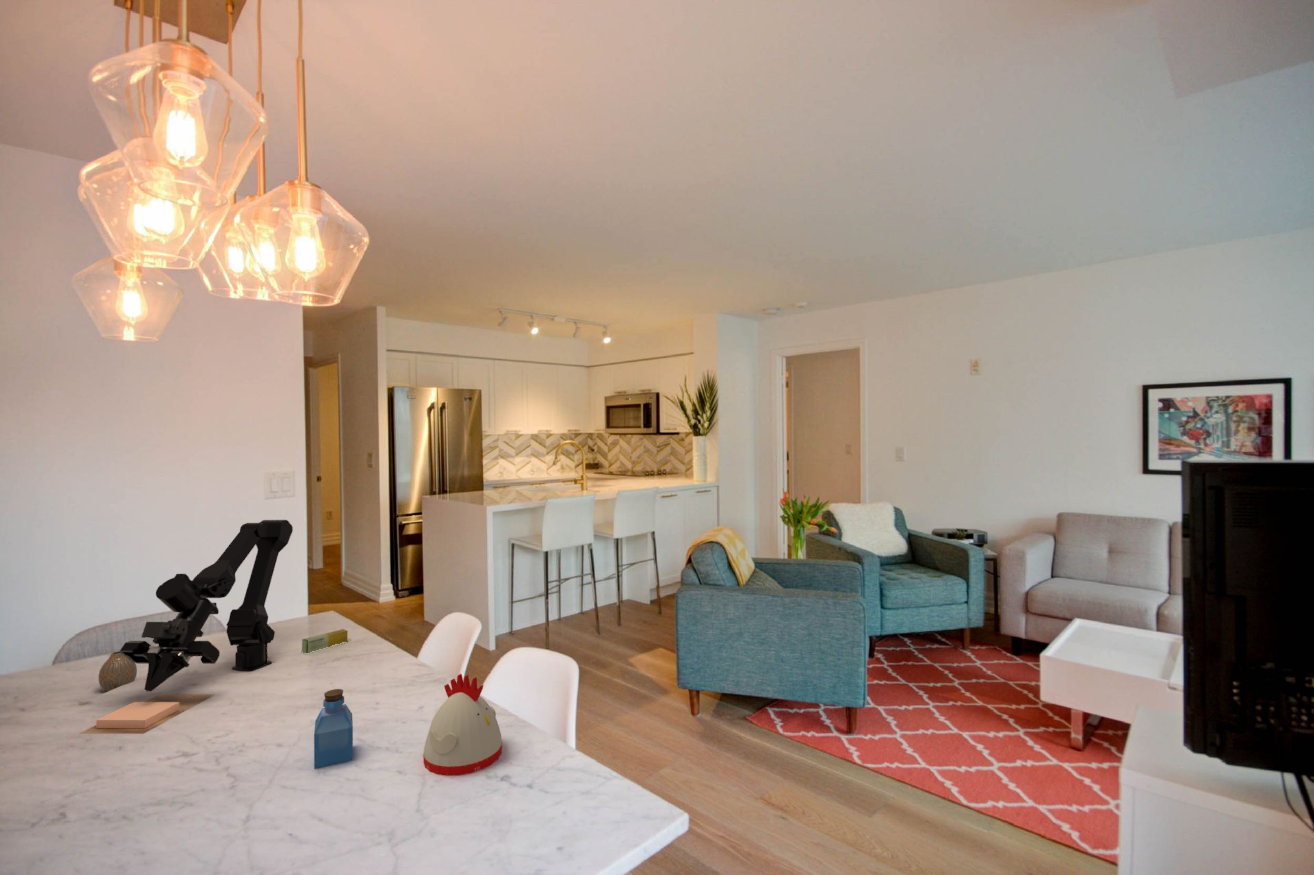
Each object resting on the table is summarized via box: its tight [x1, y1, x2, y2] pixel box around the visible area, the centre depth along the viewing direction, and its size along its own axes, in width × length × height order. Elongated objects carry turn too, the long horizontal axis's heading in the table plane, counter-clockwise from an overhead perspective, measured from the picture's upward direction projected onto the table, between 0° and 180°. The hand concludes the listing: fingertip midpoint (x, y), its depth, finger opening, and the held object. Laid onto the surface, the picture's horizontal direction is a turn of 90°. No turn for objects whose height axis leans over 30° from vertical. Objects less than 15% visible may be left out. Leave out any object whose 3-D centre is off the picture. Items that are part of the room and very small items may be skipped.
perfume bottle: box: [313, 688, 354, 770], centre depth 113 cm, size 6×6×12 cm
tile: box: [95, 701, 179, 728], centre depth 126 cm, size 2×10×8 cm
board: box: [80, 693, 216, 735], centre depth 130 cm, size 19×13×2 cm
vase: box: [98, 650, 138, 693], centre depth 146 cm, size 7×7×9 cm
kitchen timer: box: [422, 673, 503, 777], centre depth 114 cm, size 14×14×15 cm
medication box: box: [301, 628, 349, 654], centre depth 175 cm, size 12×3×4 cm, turn 146°
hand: (147, 690), depth 129 cm, fingers closed
